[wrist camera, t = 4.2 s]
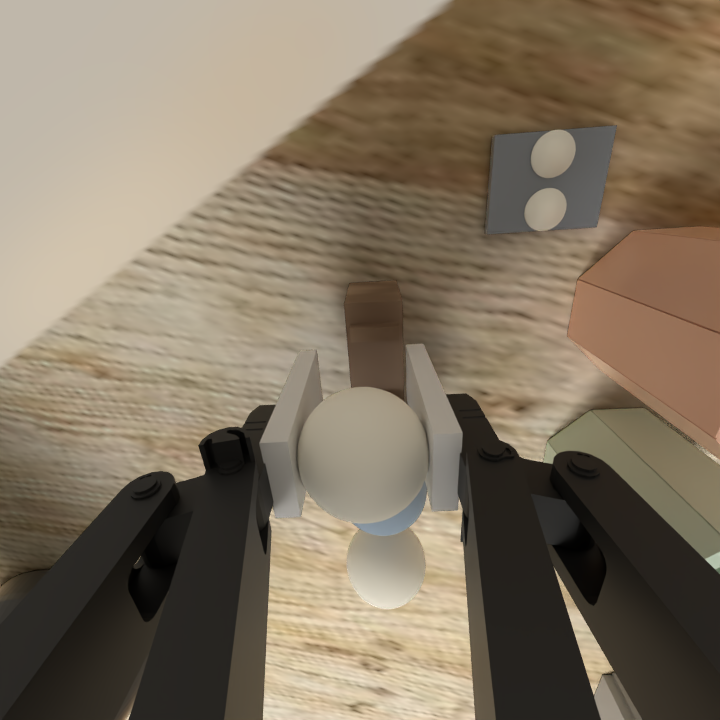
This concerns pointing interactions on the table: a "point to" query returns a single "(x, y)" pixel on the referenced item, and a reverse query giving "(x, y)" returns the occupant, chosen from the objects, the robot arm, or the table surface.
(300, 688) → the table surface
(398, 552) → the cream ball
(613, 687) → the box
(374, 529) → the blue ball
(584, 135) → the tubes
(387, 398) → the cream ball
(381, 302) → the rack
